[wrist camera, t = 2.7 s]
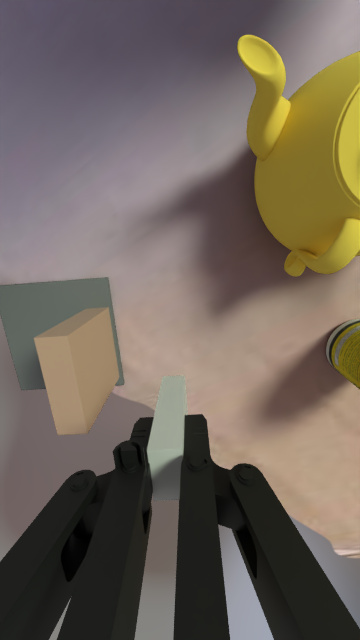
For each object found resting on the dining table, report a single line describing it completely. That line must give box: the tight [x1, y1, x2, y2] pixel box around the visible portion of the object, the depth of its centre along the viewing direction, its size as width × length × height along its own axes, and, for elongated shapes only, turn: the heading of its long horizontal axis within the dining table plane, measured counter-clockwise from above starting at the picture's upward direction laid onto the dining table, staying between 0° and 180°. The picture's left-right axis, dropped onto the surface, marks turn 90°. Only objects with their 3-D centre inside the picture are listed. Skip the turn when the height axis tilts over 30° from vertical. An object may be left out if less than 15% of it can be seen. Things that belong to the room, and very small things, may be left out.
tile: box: [34, 307, 119, 435], centre depth 23 cm, size 8×3×9 cm, turn 4°
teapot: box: [237, 35, 360, 276], centre depth 17 cm, size 20×15×12 cm
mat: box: [0, 277, 124, 390], centre depth 27 cm, size 12×12×1 cm
